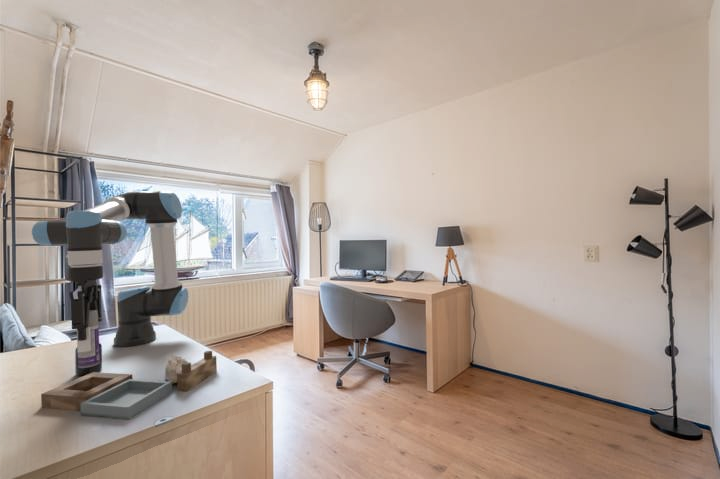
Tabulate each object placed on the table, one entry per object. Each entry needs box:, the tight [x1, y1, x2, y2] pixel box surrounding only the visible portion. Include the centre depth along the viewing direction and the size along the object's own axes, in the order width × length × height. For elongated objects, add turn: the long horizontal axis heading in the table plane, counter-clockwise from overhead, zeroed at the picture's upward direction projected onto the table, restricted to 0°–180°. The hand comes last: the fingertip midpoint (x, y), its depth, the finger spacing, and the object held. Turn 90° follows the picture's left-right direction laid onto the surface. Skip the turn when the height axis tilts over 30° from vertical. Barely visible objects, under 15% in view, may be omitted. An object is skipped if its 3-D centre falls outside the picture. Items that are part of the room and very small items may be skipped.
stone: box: [164, 355, 188, 384], centre depth 102 cm, size 8×12×10 cm, turn 33°
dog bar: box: [176, 350, 218, 392], centre depth 100 cm, size 14×3×7 cm, turn 170°
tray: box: [80, 379, 173, 420], centre depth 87 cm, size 14×14×3 cm
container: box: [78, 310, 100, 368], centre depth 92 cm, size 5×5×15 cm
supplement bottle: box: [74, 342, 103, 377], centre depth 108 cm, size 7×7×12 cm
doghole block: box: [40, 371, 133, 411], centre depth 92 cm, size 14×14×4 cm
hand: (88, 348), depth 92 cm, fingers closed on container, 5 cm apart
